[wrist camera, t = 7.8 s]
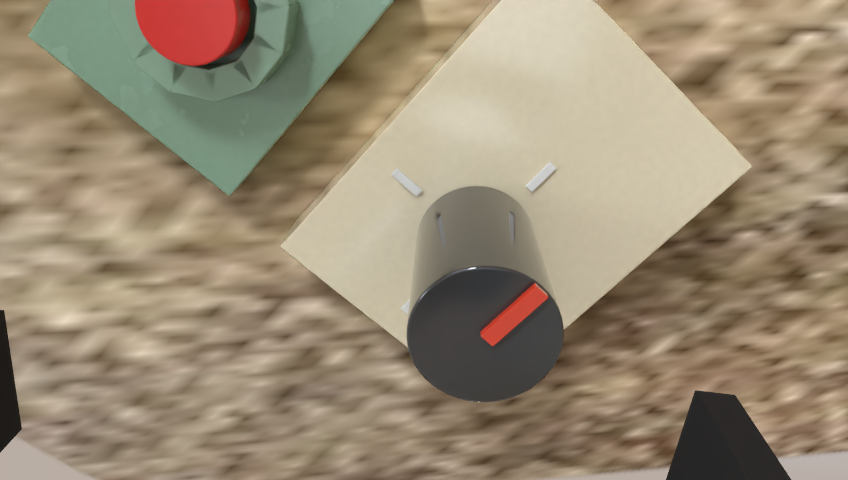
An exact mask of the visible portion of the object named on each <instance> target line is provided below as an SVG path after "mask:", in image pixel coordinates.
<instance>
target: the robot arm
mask: <svg viewBox="0 0 848 480" xmlns="http://www.w3.org/2000/svg"><path fill="white" fill-rule="evenodd" d="M21 429H22V428H21V421H20V415H19V408H18V401H17V394H16V388H15V381H14V374H13V368H12V361H11V354H10V347H9V341H8V334H7V327H6V321H5V314H4V310H0V452H1V451H2V450H3V449H4V448H5V447H6V446H7V444H8V443H9V442H10V441H11V440H12V439H13V438H14V437H15V436H16V435H17V434H18V432H19V431H20V430H21ZM666 480H791V479H790V477H789V476H788V475H787V473H786V471H785V470H784V468H783V467H782V465H781V464H780V462H779V461H778V459H777V458H776V456H775V455H774V453H773V452H772V450H771V449H770V447H769V445H768V444H767V442H766V441H765V439H764V438H763V436H762V435H761V433H760V432H759V430H758V429H757V427H756V426H755V424H754V423H753V421H752V420H751V418H750V417H749V415H748V414H747V412H746V411H745V409H744V408H743V406H742V405H741V403H740V402H739V400H738V399H737V397H736V396H735V395H730V394H721V393H713V392H704V391H695V393H694V396H693V399H692V402H691V405H690V408H689V411H688V414H687V417H686V420H685V423H684V426H683V429H682V433H681V436H680V439H679V442H678V445H677V448H676V451H675V454H674V457H673V460H672V463H671V466H670V469H669V472H668V475H667V478H666Z"/></svg>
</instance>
